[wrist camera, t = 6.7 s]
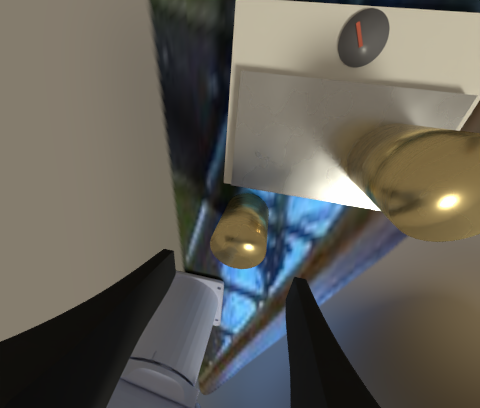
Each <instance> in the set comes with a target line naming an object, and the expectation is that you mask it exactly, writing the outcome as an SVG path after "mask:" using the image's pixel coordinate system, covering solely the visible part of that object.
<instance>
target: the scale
mask: <svg viewBox="0 0 480 408" xmlns="http://www.w3.org/2000/svg"><path fill="white" fill-rule="evenodd" d="M241 71H250V72H260V73H269V74H279V75H289V76H298V77H308V78H317V79H327V80H336V81H346V82H355V83H365V84H374V85H384V86H393V87H403V88H412V89H422V90H431V91H441V92H450V93H460V94H469V95H478V96H477V98H476V99H475V101H474V102H473V104H472V105H471V107H470V109H469V110H468V112H467V113H466V115H465V116H464V118H463V119H462V121H461V123H460V124H459V126H458V127H457V129H456V130H457V131H460V129H461V128H462V126H463V125H464V123H465V122H466V120H467V119H468V117H469V116H470V114H471V112H472V111H473V109H474V108H475V106H476V105H477V103H478V102H479V100H480V13H471V12H455V11H440V10H424V9H409V8H393V7H378V6H362V5H347V4H331V3H316V2H300V1H284V0H236V4H235V19H234V34H233V49H232V64H231V79H230V94H229V109H228V124H227V139H226V154H225V169H224V183H227V184H231V179H232V167H233V156H234V145H235V133H236V122H237V111H238V100H239V88H240V77H241Z"/></svg>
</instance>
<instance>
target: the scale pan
mask: <svg viewBox="0 0 480 408" xmlns="http://www.w3.org/2000/svg"><path fill="white" fill-rule="evenodd" d="M477 96H478V95H469V94H460V93H450V92H441V91H431V90H422V89H412V88H403V87H393V86H384V85H374V84H365V83H355V82H346V81H336V80H327V79H317V78H308V77H298V76H289V75H279V74H269V73H260V72H250V71H241V77H240V88H239V100H238V111H237V122H236V133H235V145H234V156H233V167H232V179H231V185H233V186H239V187H245V188H251V189H256V190H262V191H268V192H274V193H280V194H286V195H292V196H298V197H304V198H309V199H315V200H321V201H327V202H333V203H339V204H345V205H351V206H356V207H362V208H368V209H374V210H379V209H378V208H377V207H376V206H375V205H374V204H373V202H372V201H371V200H370V199H369V198H368V197H367V196H366V195H365V194H364V193H363V192H362V191H361V190H360V189H359V188H358V187H357V186H356V185H355V184H354V183H353V182H352V181H351V179H350V177H349V175H348V171H347V162H348V158H349V155H350V153H351V151H352V149H353V148H354V146H355V145H356V144H357V142H358V141H359V140H360V139H361V138H362V137H364V136H365V135H366V134H367V133H369V132H371V131H372V130H374V129H376V128H378V127H381V126H384V125H388V124H394V123H401V124H410V125H418V126H425V127H433V128H441V129H449V130H456V129H457V127H458V126H459V124H460V123H461V121H462V119H463V118H464V116H465V115H466V113H467V112H468V110H469V109H470V107H471V105H472V104H473V102H474V101H475V99H476V98H477Z"/></svg>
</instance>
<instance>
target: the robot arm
mask: <svg viewBox="0 0 480 408" xmlns="http://www.w3.org/2000/svg"><path fill="white" fill-rule="evenodd" d="M223 290H224V282H223V281H221V280H216V279H212V278H207V277H203V276H199V275H194V274H190V273H185V272H181V271H176V269H175V260H174V251H172V250H167V249H163V250H162V251H161V252H159V253H158V254H156V255H155V256H154V257H152V258H151V259H150V260H148V261H147V262H145V263H144V264H143V265H141V266H140V267H139V268H137V269H136V270H134V271H133V272H131V273H130V274H129V275H127V276H126V277H124V278H123V279H121V280H120V281H119V282H117V283H115V284H114V285H112V286H111V287H109V288H108V289H106V290H104V291H102V292H101V293H99V294H97V295H96V296H94V297H92V298H91V299H89V300H87V301H86V302H83V303H82V304H80V305H78V306H76V307H74V308H72V309H70V310H68V311H66V312H64V313H63V314H61V315H59V316H57V317H55V318H53V319H51V320H48V321H46V322H44V323H42V324H40V325H38V326H36V327H34V328H31V329H29V330H27V331H25V332H22V333H20V334H18V335H16V336H13V337H11V338H9V339H6V340H4V341H1V342H0V408H201V406H200V404H199V403H197V402H196V401H197V397H198V393H199V389H197V388H195V384H196V380H197V377H198V374H199V370H200V367H201V363H202V360H203V356H204V353H205V349H206V346H207V343H208V339H209V336H210V332H211V329H212V325H215V326H219V325H220V321H221V311H222V301H223ZM286 329H287V341H288V352H289V363H290V383H291V384H290V387H291V408H381V407H380V406H379V405H378V403H377V402H376V400H375V399H374V398H373V396H372V395H371V394H370V392H369V391H368V389H367V388H366V386H365V385H364V383H363V382H362V380H361V379H360V377H359V376H358V374H357V373H356V371H355V370H354V368H353V367H352V365H351V364H350V362H349V361H348V359H347V357H346V356H345V354H344V352H343V351H342V349H341V347H340V346H339V344H338V342H337V341H336V339H335V337H334V335H333V333H332V332H331V330H330V328H329V326H328V324H327V322H326V320H325V318H324V317H323V315H322V313H321V311H320V309H319V307H318V305H317V303H316V300H315V298H314V296H313V294H312V292H311V290H310V287H309V285H308V283H307V281H306V279H302V278H297V277H294V279H293V282H292V285H291V287H290V290H289V293H288V295H287V298H286Z"/></svg>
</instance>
